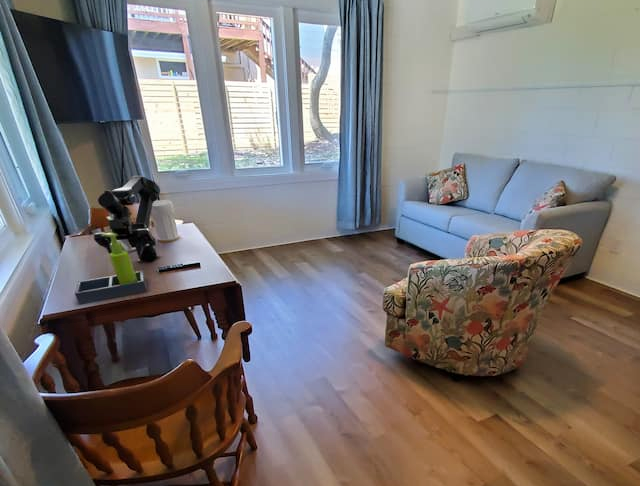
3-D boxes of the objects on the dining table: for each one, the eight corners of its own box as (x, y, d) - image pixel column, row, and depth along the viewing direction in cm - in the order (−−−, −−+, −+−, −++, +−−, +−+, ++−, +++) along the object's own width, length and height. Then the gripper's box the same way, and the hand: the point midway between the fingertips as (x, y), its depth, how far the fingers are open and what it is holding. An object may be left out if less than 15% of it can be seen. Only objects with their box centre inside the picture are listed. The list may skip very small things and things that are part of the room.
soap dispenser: (127, 282, 151) (109, 230, 140) (142, 284, 149) (125, 232, 138) (115, 288, 146) (95, 235, 135) (130, 290, 144) (111, 237, 134)
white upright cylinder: (175, 242, 191) (165, 205, 182) (152, 242, 192) (141, 206, 182) (184, 235, 201) (175, 199, 192) (162, 235, 201) (152, 200, 192)
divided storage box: (82, 291, 146) (77, 281, 144) (145, 280, 154) (142, 270, 152) (79, 304, 138) (74, 293, 135) (146, 291, 146) (143, 281, 143)
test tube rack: (137, 250, 183) (127, 221, 176) (126, 252, 181) (117, 223, 174) (123, 237, 199) (114, 210, 192) (113, 239, 197) (104, 212, 190)
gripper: (85, 211, 142) (88, 251, 139) (141, 207, 147) (146, 245, 144) (98, 226, 153) (102, 264, 150) (151, 222, 157) (155, 258, 154)
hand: (126, 257), depth 149 cm, fingers open, 9 cm apart
